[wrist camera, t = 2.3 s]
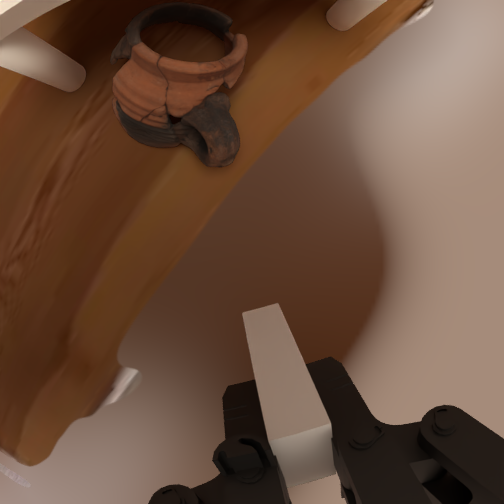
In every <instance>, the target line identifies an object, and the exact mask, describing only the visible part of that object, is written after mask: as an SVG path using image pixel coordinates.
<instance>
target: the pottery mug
mask: <svg viewBox="0 0 504 504" xmlns="http://www.w3.org/2000/svg"><path fill="white" fill-rule="evenodd" d="M174 21H178V22H179V23H184V24H191V25H197V26H200V27H204V28H206V29H207V30H209V31H211V32H212V33H214V34H215V35H216V36H218V37H219V38H220V39H221V40H222V41H224V43H225V57H223V58H222V59H220V60H218V61H211V62H186V61H180V60H175V59H171V58H168V57H164V56H161V55H160V54H158V53H156V52H154V51H153V50H151V49H150V48H149V47H148V46H146V45H145V44H144V43H143V42H142V41H141V38H140V32H141V31H142V30H143V29H145V28H147V27H149V26H152V25H154V24H160V23H168V22H174ZM231 24H232V19H231V18H230V17H229V16H227V15H226V14H224V13H222V12H220V11H218V10H216V9H213V8H210V7H207V6H204V5H200V4H193V3H191V4H189V3H183V2H174V3H164V4H159V5H155V6H152V7H150V8H147V9H145V10H144V11H142V12H140V13H139V14H138V15H136V17H134V18H133V19H132V21H131V22H130V23H129V25H128V26H127V28H126V29H125V32H126V34H125V35H124V36H123V37H122V38H121V40H120V41H119V43H118V44H117V46H116V47H115V49H114V50H113V51H112V54H111V58H110V63H111V64H115V63H116V62H117V60H118V59H121V58H127V59H130V60H129V61H128V62H127V63H125V64H124V65H123V66H122V68H121V69H120V70H119V71H118V72H117V73H116V75H115V76H114V77H113V86H112V87H113V88H112V91H113V93H114V95H115V96H116V97H115V98H113V100H112V103H113V110H114V113H115V114H116V116H117V119H118V120H119V121H120V123H121V125H122V127H123V128H124V130H125V131H126V132H127V133H128V134H129V135H130V136H131V137H132V138H134V139H135V140H137V141H138V142H140V143H143V144H146V145H148V146H153V147H159V148H160V147H176V146H178V144H180V143H182V144H184V145H186V146H188V147H189V148H191V149H192V150H193V151H194V152H195V154H196V155H197V156H198V158H199V159H200V160H201V162H202V163H204V164H205V165H206V166H209V167H224V166H227V165H229V164H231V163H232V162H233V161H234V158H235V156H236V154H237V152H238V150H239V146H240V137H239V133H238V130H237V127H236V124H235V122H234V120H233V118H232V117H231V115H230V113H229V109H230V106H231V105H230V101H229V97H228V96H227V95H226V94H225V93H222V92H218V93H215V92H216V91H217V90H218V89H219V87H220V85H221V84H224V86H225V87H226V88H228V89H231V88H232V87H233V85H234V84H235V82H236V81H237V80H238V78H239V76H240V75H241V73H242V70H243V67H244V63H245V55H246V53H247V48H248V43H247V38H246V36H245V35H244V34H236V35H235V36H234V35H233V34H232V33H231V32H229V28H230V26H231ZM169 115H172V116H174V117H180V118H182V119H181V121H180V122H178V123H176V124H172V122H171V120H170V117H169Z"/></svg>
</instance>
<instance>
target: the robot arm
mask: <svg viewBox="0 0 504 504" xmlns="http://www.w3.org/2000/svg"><path fill="white" fill-rule="evenodd" d="M242 315H243V320H244V325H245V330H246V335H247V341H248V346H249V350H250V356H251V360H252V366H253V370H254V375H255V380H251V381H247V382H243V383H239V384H234V385H230V386H228V387H227V389H226V391H225V393H224V395H223V398H222V399H223V410H224V412H223V413H224V426H225V438H226V440H225V441H223V442H222V443H221V444H219V446H218V447H217V449H216V450H215V451H214V455H213V460H212V461H213V462H214V464H215V465H216V467H217V468H218V470H219V471H220V474H219V475H218V476H217V477H215V478H214V479H212V480H211V481H209V482H207V483H204V484H202V485H199V486H197V487H194V488H192V489H190V488H188V487H186V486H183V485H168V486H166V487H163V488H161V489H159V490H158V491H157V492H155V493H154V494H153V496H152V497H151V500H150V501H149V503H148V504H292V503H291V500H290V498H289V494H288V490H287V488H289V487H293V486H297V485H300V484H304V483H308V482H311V481H315V480H318V479H322V478H324V477H328V476H331V475H334V474H336V471H337V473H338V476H339V479H340V482H341V496H342V498H345V500H346V503H347V504H504V439H503V438H502V437H500V436H499V435H497V434H496V433H494V432H493V431H492V430H490V429H489V428H487V427H486V426H484V425H483V424H481V423H480V422H479V421H477V420H476V419H474V418H473V417H471V416H470V415H469V414H467V413H466V412H464V411H463V410H461V409H459V408H457V407H455V406H450V405H442V406H437V407H435V408H433V409H431V410H429V411H428V412H427V413H426V415H424V417H423V418H422V421H420V422H415V423H409V424H403V425H389V424H385V423H382V422H380V421H379V420H377V419H376V418H375V417H374V416H373V415H372V414H371V412H370V410H369V409H368V407H367V405H366V404H365V402H364V400H363V399H362V397H361V395H360V393H359V392H358V390H357V388H356V387H355V385H354V384H353V382H352V380H351V378H350V377H349V376H348V373H347V372H346V370H345V368H344V367H343V365H342V363H340V362H338V361H337V360H335V359H334V358H332V357H328V358H324V359H321V360H318V361H315V362H312V363H309V364H305V363H304V361H303V358H302V356H301V354H300V352H299V349H298V347H297V345H296V343H295V340H294V338H293V336H292V333H291V331H290V329H289V327H288V324H287V322H286V320H285V317H284V315H283V313H282V311H281V309H280V306H279V304H278V303H276V304H273V305H269V306H266V307H262V308H258V309H255V310H250V311H247V312H243V313H242Z"/></svg>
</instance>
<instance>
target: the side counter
mask: <svg viewBox="0 0 504 504" xmlns="http://www.w3.org/2000/svg"><path fill="white" fill-rule="evenodd" d="M68 1H70V0H0V66H1V67H4V68H7V69H10V70H12V71H15V72H18V73H20V74H23V75H26V76H28V77H31V78H33V79H36V80H38V81H41V82H44V83H46V84H49V85H51V86H53V87H56V88H58V89H61V90H63V91H66V92H73V91H76V90H77V89H79V88H80V87H81V86H82V84H83V83H84V81H85V78H86V71H85V69H84V67H83V66H81V65H80V64H78V63H77V62H76V61H74V60H73V59H71V58H70V57H68V56H67V55H65V54H64V53H62V52H61V51H59V50H58V49H56V48H54V47H53V46H51V45H50V44H48V43H47V42H45V41H44V40H42V39H41V38H39V37H37V36H36V35H34V34H33V33H31V32H30V31H28V30H26V29H25V28H23V27H22V26H24V25H25V24H27V23H28V22H30V21H32V20H34V19H35V18H37V17H39V16H41V15H42V14H44V13H46V12H48V11H50V10H52V9H54V8H56V7H58V6H59V5H61V4H63V3H66V2H68ZM386 1H387V0H338V1H337V2H336V3H335V4H334V5H333V6H332V7H331V8H330V9H329V10H328V11H327V13H326V19H327V22H328V23H329V24H330V25H331V26H332V27H333V28H334V29H336V30H339V31H347V30H349V29H350V28H351V27H353V26H354V25H355V24H356V23H358V22H359V21H360V20H362V19H363V18H364V17H365V16H367V15H368V14H369V13H371V12H372V11H373V10H375V9H376V8H377V7H379V6H380V5H382V4H383V3H384V2H386Z"/></svg>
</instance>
